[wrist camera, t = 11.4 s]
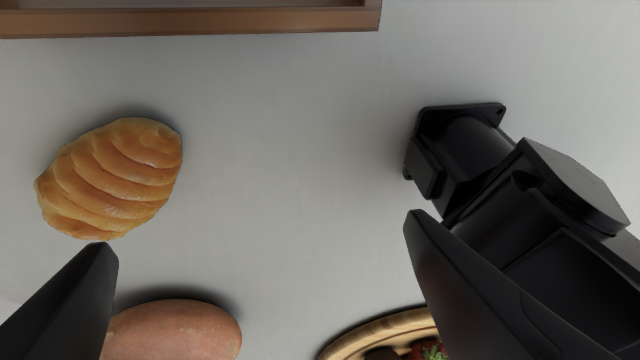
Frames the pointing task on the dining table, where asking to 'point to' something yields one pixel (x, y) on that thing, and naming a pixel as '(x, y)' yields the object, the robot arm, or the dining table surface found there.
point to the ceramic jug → (172, 332)
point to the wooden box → (183, 17)
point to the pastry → (110, 179)
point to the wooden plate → (390, 339)
